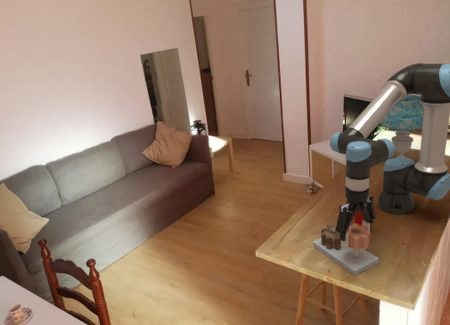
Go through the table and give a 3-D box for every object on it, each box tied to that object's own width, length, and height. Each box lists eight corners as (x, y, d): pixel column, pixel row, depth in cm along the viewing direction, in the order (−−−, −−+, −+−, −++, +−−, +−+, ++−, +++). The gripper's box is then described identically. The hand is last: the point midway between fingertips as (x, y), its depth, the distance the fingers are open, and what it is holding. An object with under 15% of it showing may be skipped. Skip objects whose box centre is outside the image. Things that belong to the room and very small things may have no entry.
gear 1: (334, 233, 142) (334, 220, 140) (351, 244, 134) (352, 230, 132) (316, 241, 138) (316, 228, 136) (333, 253, 130) (333, 239, 128)
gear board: (335, 235, 144) (335, 221, 141) (378, 263, 125) (379, 247, 123) (312, 245, 139) (312, 231, 137) (354, 275, 121) (355, 259, 118)
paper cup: (366, 222, 150) (368, 194, 144) (374, 232, 142) (376, 203, 137) (349, 225, 150) (349, 196, 144) (356, 235, 142) (356, 205, 137)
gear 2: (354, 232, 130) (355, 220, 129) (375, 244, 122) (376, 232, 120) (335, 240, 127) (335, 229, 125) (355, 253, 118) (356, 241, 117)
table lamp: (432, 173, 185) (441, 100, 170) (387, 177, 187) (392, 105, 172) (411, 157, 207) (417, 91, 193) (371, 161, 209) (374, 96, 194)
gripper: (371, 174, 124) (368, 227, 132) (324, 192, 115) (324, 247, 123) (389, 181, 117) (385, 236, 126) (340, 200, 109) (339, 258, 117)
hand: (355, 242), depth 124 cm, fingers closed on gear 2, 10 cm apart
